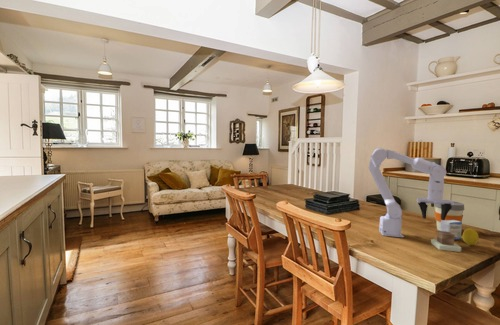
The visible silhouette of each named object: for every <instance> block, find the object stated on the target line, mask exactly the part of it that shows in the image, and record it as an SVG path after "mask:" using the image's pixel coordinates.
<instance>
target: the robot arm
mask: <svg viewBox="0 0 500 325" xmlns="http://www.w3.org/2000/svg"><path fill="white" fill-rule="evenodd" d="M385 159H387V160H393V159H394V160H396V161H400V162H402V163H406V164H409V165H411V168H412V169H413V170H416V171H419V172H422V173H424V174H429V180H428V187H427V188H428V189H427V197H425V198H424V197H422V198H421V197H416V203H417V204H418V207H419V208H420V212H421V217H422V219H425V220H426V219H427V211H428V206H429V205H428V204H434V205H435V204H441V219H442V220H445V218H446V215H447V213H448V212H449V211H450V209H451V208H452V206H451V205H454V202H455V201H454V200H449V199H444V198H443V197H444V188H445V187H444V185H445V176H446V175H447V170H446V167H445V166H443V165H440V164H438V163H436V162H435V161H429V160H427V159H425V157H415V158H413V157H410V156H408V155H405V154H403V153H400V152H398V151H395V150H391V149H385V148H382V147H377V148H376V149H374V150H373V151H372V154H371V156H370V158H369V164H368V171H369V172H370V174H371V176H372V178H373V180H374V182H375V185H376V187H377V189H378V191H379V193H380V195H381V197H382V199H383V201H384V204H385V206H386V214H385V215H381V216H380V217H379V225H378V227H379V228H378V231H379V233H380V235H382V236H383V237H385V236H386V237H396V238H404V237H405V236H404V235H403V234H402V222H403V217H402V215H403V210H402V208H401V204H399V203H398V202H397V201H396V200H395V198H394V196H393V193H392V192H391V190H390V188H389V186H388V184H387V182H386V179H385V177H384V175H383V173H382V172H381V169H380V167H381V165H382V163H383V162H384V161H385Z"/></svg>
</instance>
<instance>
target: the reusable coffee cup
mask: <svg viewBox="0 0 500 325" xmlns="http://www.w3.org/2000/svg"><path fill="white" fill-rule="evenodd" d="M451 206H452V208H451V209H450V211H449V212H448V213H447V215H446V218H445V220H457V221H460V222H462V221H463V218H464V215H463V213H464V210H465V204H464V203H462V202H459V201H454V205H451ZM433 207H434V209H435V210H434V220H435V221H436V230H437V231H440V229H441V221H444V220H442V219H441V204H434V206H433ZM462 223H463V222H462Z"/></svg>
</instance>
